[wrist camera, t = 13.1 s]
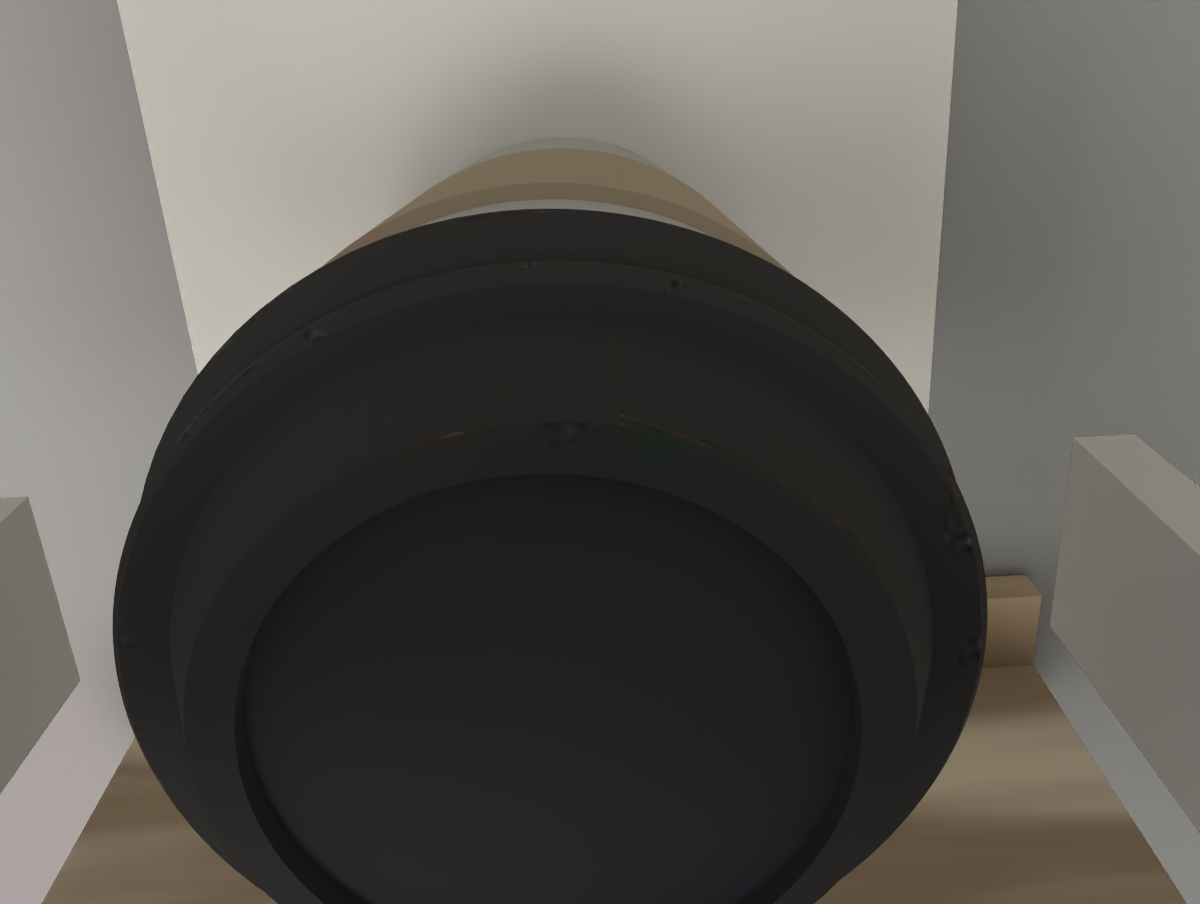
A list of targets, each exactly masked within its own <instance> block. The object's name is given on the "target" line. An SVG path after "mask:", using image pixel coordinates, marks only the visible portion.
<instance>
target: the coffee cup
mask: <svg viewBox="0 0 1200 904" xmlns="http://www.w3.org/2000/svg"><path fill="white" fill-rule="evenodd" d="M987 619H988V613H987V589H986V579H985V572H984V565H983V560H982V555H981V550H980V546H979V542H978V538H977V534H976V531H975V528H974V525H973V521H972V519H971V516H970V513H969V510H968V508H967V505H966V503H965V501H964V498H963V496H962V494H961V491H960V489H959V487H958V485H957V483H956V480H955V477H954V474H953V470H952V468H951V465H950V462H949V459H948V456H947V454H946V451H945V449H944V447H943V444H942V442H941V440H940V437H939V435H938V433H937V431H936V429H935V427H934V425H933V423H932V421H931V419H930V417H929V415H928V414H927V412H926V410H925V408H924V407H923V405H922V403H921V402H920V400H919V398H918V397H917V395H916V394H915V392H914V391H913V389H912V388H911V386H910V385H909V383H908V382H907V381H906V379H905V378H904V376H903V375H902V374H901V372H900V371H899V370H898V368H897V367H896V366H895V365H894V363H893V362H892V361H891V360H890V359H889V357H888V356H887V355H886V354H885V353H884V351H883V350H882V349H881V348H880V347H879V346H878V345H877V344H876V343H875V342H874V341H873V340H872V338H871V337H870V336H868V335H867V334H866V333H865V332H864V331H863V330H862V329H861V328H860V327H859V326H858V325H857V324H856V323H855V322H854V321H853V320H852V319H851V318H849V317H848V316H847V315H846V314H845V313H844V312H842V311H841V310H840V309H839V308H838V307H836V306H835V305H834V304H833V303H831V302H830V301H829V300H827V299H826V298H825V297H824V296H822V295H821V294H820V293H818V292H817V291H815V290H814V289H812V288H811V287H809V286H808V285H807V284H805V283H804V282H802V281H800V280H799V279H797V278H796V277H794V276H793V275H792V274H791V273H790V272H789V271H788V270H787V269H786V268H784V267H783V266H782V265H781V264H780V263H779V262H778V261H777V260H775V259H774V258H773V257H772V256H771V255H770V254H769V253H767V252H766V251H765V250H764V249H763V248H762V247H761V246H759V245H758V244H757V243H756V242H755V241H754V240H753V239H751V238H750V237H749V236H748V235H747V234H746V233H745V232H743V231H742V230H741V229H740V228H739V227H738V226H737V225H735V224H734V223H733V222H732V221H731V220H730V219H729V218H727V217H726V216H725V215H724V214H723V213H722V212H721V211H719V210H718V209H717V208H716V207H715V206H714V205H713V204H711V203H710V202H709V201H708V200H707V199H705V198H704V197H703V196H702V195H700V194H699V193H698V192H696V191H695V190H694V189H692V188H691V187H689V186H688V185H686V184H685V183H683V182H681V181H680V180H678V179H676V178H674V177H673V176H671V175H669V174H668V173H667V172H665V171H664V170H662V169H661V168H660V167H658V166H657V165H655V164H654V163H652V162H650V161H649V160H647V159H645V158H643V157H641V156H639V155H637V154H635V153H633V152H631V151H628V150H626V149H623V148H621V147H618V146H614V145H611V144H608V143H603V142H599V141H594V140H587V139H579V138H550V139H541V140H534V141H529V142H524V143H521V144H517V145H514V146H510V147H508V148H505V149H502V150H499V151H497V152H495V153H493V154H491V155H489V156H486V157H485V158H483V159H481V160H479V161H478V162H476V163H474V164H473V165H471V166H470V167H468V168H466V169H463V170H461V171H459V172H457V173H455V174H453V175H451V176H449V177H448V178H446V179H444V180H443V181H441V182H439V183H438V184H436V185H434V186H433V187H431V188H430V189H428V190H427V191H426V192H424V193H423V194H421V195H420V196H418V197H417V198H416V199H414V200H413V201H411V202H410V203H408V204H407V205H406V206H404V207H403V208H401V209H400V210H398V211H397V212H396V213H394V214H393V215H391V216H390V217H388V218H387V219H386V220H384V221H383V222H381V223H380V224H378V225H377V226H376V227H374V228H373V229H371V230H370V231H369V232H367V233H366V234H364V235H363V236H361V237H360V238H359V239H357V240H356V241H354V242H353V243H351V244H350V245H349V246H347V247H346V248H345V249H343V250H342V251H341V252H339V253H338V254H337V255H336V256H334V257H333V258H332V259H330V260H329V261H328V262H327V263H326V264H324V265H323V266H322V267H321V268H319V269H317V270H315V271H314V272H312V273H311V274H309V275H308V276H306V277H304V278H303V279H301V280H300V281H298V282H296V283H295V284H293V285H292V286H290V287H289V288H287V289H286V290H285V291H283V292H282V293H281V294H279V295H278V296H277V297H275V298H274V299H273V300H271V301H270V302H269V303H267V304H266V305H265V306H264V307H262V308H261V309H260V310H259V311H258V312H256V313H255V314H254V315H253V316H252V317H251V318H250V319H249V320H248V321H247V322H245V323H244V324H243V325H242V326H241V327H240V328H239V329H238V330H237V331H235V333H234V334H233V335H232V336H231V337H230V338H229V339H228V340H227V341H226V342H225V343H224V344H223V346H222V347H221V348H220V349H219V350H218V351H217V352H216V353H215V354H214V355H213V356H212V358H211V359H210V360H209V362H208V363H207V364H206V365H205V367H204V368H203V369H202V371H201V372H200V373H199V374H198V376H197V377H196V379H195V380H194V382H193V383H192V384H191V386H190V387H189V389H188V390H187V392H186V393H185V395H184V396H183V398H182V400H181V402H180V403H179V405H178V407H177V409H176V410H175V412H174V414H173V416H172V417H171V419H170V421H169V423H168V425H167V427H166V429H165V432H164V434H163V436H162V438H161V440H160V443H159V445H158V447H157V449H156V452H155V455H154V458H153V461H152V464H151V466H150V469H149V472H148V475H147V478H146V482H145V486H144V490H143V494H142V498H141V502H140V504H139V507H138V509H137V511H136V514H135V516H134V519H133V521H132V524H131V527H130V529H129V532H128V535H127V538H126V541H125V545H124V548H123V552H122V556H121V560H120V565H119V569H118V574H117V580H116V587H115V595H114V607H113V645H114V657H115V664H116V671H117V677H118V682H119V687H120V691H121V695H122V699H123V703H124V706H125V710H126V713H127V716H128V719H129V722H130V724H131V727H132V730H133V732H134V735H135V737H136V739H137V742H138V744H139V746H140V748H141V751H142V753H143V755H144V757H145V759H146V761H147V762H148V764H149V766H150V768H151V770H152V771H153V773H154V775H155V777H156V778H157V780H158V781H159V783H160V785H161V786H162V788H163V789H164V791H165V792H166V794H167V795H168V797H169V798H170V800H171V801H172V802H173V804H174V805H175V807H176V808H177V810H178V811H179V812H180V813H181V815H182V816H183V817H184V818H185V819H186V821H187V822H188V823H189V824H190V826H191V827H192V828H193V829H194V831H195V832H196V833H197V834H198V835H199V836H200V837H201V838H202V839H203V840H204V841H205V842H206V843H207V844H208V845H209V846H210V847H211V848H212V850H213V851H215V852H216V853H217V854H218V855H219V856H220V857H221V858H222V859H223V860H224V861H226V862H227V863H228V864H229V865H230V866H231V867H232V868H233V869H235V870H236V871H237V872H238V873H240V874H241V875H242V876H243V877H245V878H246V879H247V880H249V881H250V882H251V883H252V884H254V885H255V886H256V887H258V888H259V889H261V890H262V891H264V892H265V893H266V894H267V895H268V896H269V897H271V898H272V899H273V900H274V901H275V902H276V903H278V904H814V903H815V902H817V901H818V900H819V899H820V898H821V897H823V896H824V895H825V894H826V893H827V892H828V891H829V890H830V889H831V888H832V887H833V886H834V885H835V884H836V883H838V882H839V881H840V880H841V879H842V878H843V877H845V876H846V875H847V874H849V873H850V872H851V871H852V870H854V869H855V868H856V867H857V866H858V865H860V864H861V863H862V862H863V861H864V860H866V859H867V858H868V857H869V856H870V855H871V854H872V853H873V852H874V851H875V850H877V849H878V848H879V847H880V846H881V845H882V844H883V843H884V842H885V841H886V840H887V839H888V838H889V837H890V836H891V835H892V834H893V833H894V832H895V830H896V829H897V828H898V827H899V826H900V825H901V824H902V823H903V822H904V820H905V819H906V818H907V817H908V816H909V815H910V814H911V812H912V811H913V810H914V809H915V807H916V806H917V805H918V803H919V802H920V801H921V800H922V798H923V797H924V796H925V794H926V793H927V792H928V790H929V789H930V787H931V786H932V784H933V783H934V781H935V780H936V778H937V777H938V775H939V774H940V772H941V771H942V769H943V767H944V766H945V764H946V762H947V760H948V759H949V757H950V755H951V753H952V751H953V749H954V747H955V745H956V743H957V741H958V739H959V737H960V735H961V733H962V730H963V728H964V726H965V723H966V721H967V718H968V716H969V713H970V710H971V707H972V704H973V701H974V698H975V695H976V691H977V688H978V684H979V680H980V676H981V671H982V666H983V661H984V654H985V647H986V637H987Z"/></svg>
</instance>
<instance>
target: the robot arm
mask: <svg viewBox="0 0 1200 904" xmlns="http://www.w3.org/2000/svg"><path fill="white" fill-rule="evenodd" d="M1050 627H1051V628H1052V629H1053V631H1054V632H1055V634H1056V635H1057V636H1058V638H1059V639H1060V641H1061V642H1062V643H1063V645H1064V646H1065V647H1066V649H1067V650H1068V652H1069V653H1070V654H1071V656H1072V657H1073V658H1074V660H1075V661H1076V663H1077V664H1078V665H1079V667H1080V668H1081V670H1082V671H1083V672H1084V674H1085V675H1086V676H1087V678H1088V679H1089V681H1090V682H1091V683H1092V685H1093V686H1094V687H1095V689H1096V690H1097V692H1098V693H1099V694H1100V696H1101V697H1102V698H1103V700H1104V701H1105V703H1106V704H1107V705H1108V707H1109V708H1110V710H1111V711H1112V712H1113V714H1114V715H1115V716H1116V718H1117V719H1118V721H1119V722H1120V723H1121V725H1122V726H1123V727H1124V729H1125V730H1126V732H1127V733H1128V734H1129V736H1130V737H1131V739H1132V740H1133V741H1134V743H1135V744H1136V745H1137V747H1138V748H1139V750H1140V751H1141V752H1142V754H1143V755H1144V756H1145V758H1146V759H1147V761H1148V762H1149V763H1150V765H1151V766H1152V767H1153V769H1154V770H1155V772H1156V773H1157V774H1158V776H1159V777H1160V779H1161V780H1162V781H1163V783H1164V784H1165V785H1166V787H1167V788H1168V790H1169V791H1170V792H1171V794H1172V795H1173V796H1174V798H1175V799H1176V801H1177V802H1178V803H1179V805H1180V806H1181V808H1182V809H1183V810H1184V812H1185V813H1186V814H1187V816H1188V817H1189V819H1190V820H1191V821H1192V823H1193V824H1194V825H1195V827H1196V828H1197V830H1198V831H1199V832H1200V488H1199V487H1198V486H1197V485H1196V484H1195V483H1193V482H1192V481H1191V480H1190V479H1189V478H1187V477H1186V476H1185V475H1184V474H1183V473H1181V472H1180V471H1179V470H1178V469H1176V468H1175V467H1174V466H1173V465H1172V464H1170V463H1169V462H1168V461H1167V460H1166V459H1164V458H1163V457H1162V456H1161V455H1160V454H1158V453H1157V452H1156V451H1155V450H1153V449H1152V448H1151V447H1150V446H1149V445H1147V444H1146V443H1145V442H1144V441H1143V440H1141V439H1140V438H1139V437H1138V436H1137V435H1135V434H1129V435H1111V436H1094V437H1076V438H1074V439H1073V447H1072V455H1071V463H1070V471H1069V479H1068V487H1067V495H1066V503H1065V511H1064V519H1063V526H1062V534H1061V542H1060V550H1059V558H1058V566H1057V574H1056V582H1055V590H1054V598H1053V606H1052V614H1051V622H1050ZM79 681H80V677H79V673H78V670H77V666H76V663H75V659H74V656H73V652H72V649H71V645H70V642H69V638H68V635H67V631H66V628H65V624H64V621H63V617H62V614H61V610H60V607H59V603H58V600H57V596H56V593H55V589H54V586H53V582H52V579H51V575H50V572H49V568H48V565H47V561H46V558H45V554H44V551H43V547H42V544H41V540H40V537H39V533H38V530H37V526H36V523H35V519H34V516H33V512H32V509H31V505H30V502H29V498H28V497H12V498H0V794H1V792H2V791H3V789H4V788H5V786H6V785H7V784H8V782H9V781H10V779H11V778H12V777H13V775H14V774H15V772H16V771H17V769H18V768H19V767H20V765H21V764H22V762H23V761H24V760H25V758H26V757H27V755H28V754H29V752H30V751H31V750H32V748H33V747H34V745H35V744H36V742H37V741H38V740H39V738H40V737H41V735H42V734H43V733H44V731H45V730H46V728H47V727H48V725H49V724H50V723H51V721H52V720H53V718H54V717H55V715H56V714H57V713H58V711H59V710H60V708H61V707H62V706H63V704H64V703H65V701H66V700H67V698H68V697H69V696H70V694H71V693H72V691H73V690H74V688H75V687H76V686H77V684H78V683H79Z"/></svg>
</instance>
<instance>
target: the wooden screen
mask: <svg viewBox="0 0 1200 904" xmlns="http://www.w3.org/2000/svg"><path fill="white" fill-rule="evenodd" d="M985 579H986V589H987V613H988V619H987V637H986V647H985V654H984V661H983V666H982V671H981V676H980V680H979V684H978V688H977V691H976V695H975V698H974V701H973V704H972V707H971V710H970V713H969V716H968V718H967V721H966V723H965V726H964V728H963V730H962V733H961V735H960V737H959V739H958V741H957V743H956V745H955V747H954V749H953V751H952V753H951V755H950V757H949V759H948V760H947V762H946V764H945V766H944V767H943V769H942V771H941V772H940V774H939V775H938V777H937V778H936V780H935V781H934V783H933V784H932V786H931V787H930V789H929V790H928V792H927V793H926V794H925V796H924V797H923V798H922V800H921V801H920V802H919V803H918V805H917V806H916V807H915V809H914V810H913V811H912V812H911V814H910V815H909V816H908V817H907V818H906V819H905V820H904V822H903V823H902V824H901V825H900V826H899V827H898V828H897V829H896V830H895V832H894V833H893V834H892V835H891V836H890V837H889V838H888V839H887V840H886V841H885V842H884V843H883V844H882V845H881V846H880V847H879V848H878V849H877V850H875V851H874V852H873V853H872V854H871V855H870V856H869V857H868V858H867V859H866V860H864V861H863V862H862V863H861V864H860V865H858V866H857V867H856V868H855V869H854V870H852V871H851V872H850V873H849V874H847V875H846V876H845V877H843V878H842V879H841V880H840V881H839V882H838V883H836V884H835V885H834V886H833V887H832V888H831V889H830V890H829V891H828V892H827V893H826V894H825V895H824V896H823V897H821V898H820V899H819V900H818V901H817V902H815V903H814V904H1186V902H1185V900H1184V899H1183V897H1182V896H1181V894H1180V893H1179V891H1178V890H1177V888H1176V886H1175V885H1174V883H1173V882H1172V880H1171V879H1170V877H1169V876H1168V874H1167V872H1166V871H1165V869H1164V868H1163V866H1162V865H1161V863H1160V862H1159V860H1158V858H1157V857H1156V855H1155V854H1154V852H1153V851H1152V849H1151V848H1150V846H1149V844H1148V843H1147V841H1146V840H1145V838H1144V837H1143V835H1142V834H1141V832H1140V830H1139V829H1138V827H1137V826H1136V824H1135V823H1134V821H1133V820H1132V818H1131V817H1130V815H1129V813H1128V812H1127V810H1126V809H1125V807H1124V806H1123V804H1122V803H1121V801H1120V799H1119V798H1118V796H1117V795H1116V793H1115V792H1114V790H1113V789H1112V787H1111V785H1110V784H1109V782H1108V781H1107V779H1106V778H1105V776H1104V775H1103V773H1102V771H1101V770H1100V768H1099V767H1098V765H1097V764H1096V762H1095V761H1094V759H1093V757H1092V756H1091V754H1090V753H1089V751H1088V750H1087V748H1086V747H1085V745H1084V744H1083V742H1082V740H1081V739H1080V737H1079V736H1078V734H1077V733H1076V731H1075V730H1074V728H1073V726H1072V725H1071V723H1070V722H1069V720H1068V719H1067V717H1066V716H1065V714H1064V712H1063V711H1062V709H1061V708H1060V706H1059V705H1058V703H1057V702H1056V700H1055V698H1054V697H1053V695H1052V694H1051V692H1050V691H1049V689H1048V688H1047V686H1046V684H1045V683H1044V681H1043V680H1042V678H1041V677H1040V675H1039V674H1038V672H1037V670H1036V669H1035V667H1034V666H1033V662H1034V654H1035V647H1036V639H1037V631H1038V623H1039V615H1040V607H1041V599H1042V595H1041V594H1040V593H1039V591H1038V590H1037V589H1036V587H1035V586H1034V584H1033V583H1032V582H1031V580H1030V579H1029V578H1028V576H1027V575H1013V576H995V577H985ZM42 904H278V903H276V902H275V901H274V900H273V899H272V898H271V897H269V896H268V895H267V894H266V893H265V892H264V891H262V890H261V889H259V888H258V887H256V886H255V885H254V884H252V883H251V882H250V881H249V880H247V879H246V878H245V877H243V876H242V875H241V874H240V873H238V872H237V871H236V870H235V869H233V868H232V867H231V866H230V865H229V864H228V863H227V862H226V861H224V860H223V859H222V858H221V857H220V856H219V855H218V854H217V853H216V852H215V851H213V850H212V848H211V847H210V846H209V845H208V844H207V843H206V842H205V841H204V840H203V839H202V838H201V837H200V836H199V835H198V834H197V833H196V832H195V831H194V829H193V828H192V827H191V826H190V824H189V823H188V822H187V821H186V819H185V818H184V817H183V816H182V815H181V813H180V812H179V811H178V810H177V808H176V807H175V805H174V804H173V802H172V801H171V800H170V798H169V797H168V795H167V794H166V792H165V791H164V789H163V788H162V786H161V785H160V783H159V781H158V780H157V778H156V777H155V775H154V773H153V771H152V770H151V768H150V766H149V764H148V762H147V761H146V759H145V757H144V755H143V753H142V751H141V748H140V746H139V744H138V742H137V739H136V737H135V738H134V740H133V742H132V744H131V745H130V747H129V749H128V751H127V752H126V754H125V756H124V758H123V760H122V761H121V763H120V765H119V767H118V768H117V770H116V772H115V774H114V776H113V777H112V779H111V781H110V783H109V785H108V786H107V788H106V790H105V792H104V793H103V795H102V797H101V799H100V801H99V802H98V804H97V806H96V808H95V810H94V811H93V813H92V815H91V817H90V818H89V820H88V822H87V824H86V826H85V827H84V829H83V831H82V833H81V834H80V836H79V838H78V840H77V842H76V843H75V845H74V847H73V849H72V851H71V852H70V854H69V856H68V858H67V859H66V861H65V863H64V865H63V867H62V868H61V870H60V872H59V874H58V875H57V877H56V879H55V881H54V883H53V884H52V886H51V888H50V890H49V892H48V893H47V895H46V897H45V899H44V900H43V902H42Z"/></svg>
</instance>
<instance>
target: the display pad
mask: <svg viewBox="0 0 1200 904" xmlns="http://www.w3.org/2000/svg"><path fill="white" fill-rule="evenodd" d="M117 3H118V8H119V12H120V17H121V22H122V26H123V31H124V35H125V40H126V45H127V49H128V54H129V59H130V63H131V68H132V72H133V77H134V82H135V86H136V91H137V95H138V100H139V105H140V109H141V114H142V119H143V123H144V128H145V132H146V137H147V142H148V146H149V151H150V155H151V160H152V165H153V169H154V174H155V179H156V183H157V188H158V192H159V197H160V202H161V206H162V211H163V216H164V220H165V225H166V229H167V234H168V239H169V243H170V248H171V252H172V257H173V262H174V266H175V271H176V276H177V280H178V285H179V289H180V294H181V299H182V303H183V308H184V312H185V317H186V322H187V326H188V331H189V336H190V340H191V345H192V349H193V354H194V359H195V363H196V368H197V372H198V374H199V373H200V372H201V371H202V369H203V368H204V367H205V365H206V364H207V363H208V362H209V360H210V359H211V358H212V356H213V355H214V354H215V353H216V352H217V351H218V350H219V349H220V348H221V347H222V346H223V344H224V343H225V342H226V341H227V340H228V339H229V338H230V337H231V336H232V335H233V334H234V333H235V331H237V330H238V329H239V328H240V327H241V326H242V325H243V324H244V323H245V322H247V321H248V320H249V319H250V318H251V317H252V316H253V315H254V314H255V313H256V312H258V311H259V310H260V309H261V308H262V307H264V306H265V305H266V304H267V303H269V302H270V301H271V300H273V299H274V298H275V297H277V296H278V295H279V294H281V293H282V292H283V291H285V290H286V289H287V288H289V287H290V286H292V285H293V284H295V283H296V282H298V281H300V280H301V279H303V278H304V277H306V276H308V275H309V274H311V273H312V272H314V271H315V270H317V269H319V268H321V267H322V266H323V265H324V264H326V263H327V262H328V261H329V260H330V259H332V258H333V257H334V256H336V255H337V254H338V253H339V252H341V251H342V250H343V249H345V248H346V247H347V246H349V245H350V244H351V243H353V242H354V241H356V240H357V239H359V238H360V237H361V236H363V235H364V234H366V233H367V232H369V231H370V230H371V229H373V228H374V227H376V226H377V225H378V224H380V223H381V222H383V221H384V220H386V219H387V218H388V217H390V216H391V215H393V214H394V213H396V212H397V211H398V210H400V209H401V208H403V207H404V206H406V205H407V204H408V203H410V202H411V201H413V200H414V199H416V198H417V197H418V196H420V195H421V194H423V193H424V192H426V191H427V190H428V189H430V188H431V187H433V186H434V185H436V184H438V183H439V182H441V181H443V180H444V179H446V178H448V177H449V176H451V175H453V174H455V173H457V172H459V171H461V170H463V169H466V168H468V167H470V166H471V165H473V164H474V163H476V162H478V161H479V160H481V159H483V158H485V157H486V156H489V155H491V154H493V153H495V152H497V151H499V150H502V149H505V148H508V147H510V146H514V145H517V144H521V143H524V142H529V141H534V140H541V139H550V138H579V139H587V140H594V141H599V142H603V143H608V144H611V145H614V146H618V147H621V148H623V149H626V150H628V151H631V152H633V153H635V154H637V155H639V156H641V157H643V158H645V159H647V160H649V161H650V162H652V163H654V164H655V165H657V166H658V167H660V168H661V169H662V170H664V171H665V172H667V173H668V174H669V175H671V176H673V177H674V178H676V179H678V180H680V181H681V182H683V183H685V184H686V185H688V186H689V187H691V188H692V189H694V190H695V191H696V192H698V193H699V194H700V195H702V196H703V197H704V198H705V199H707V200H708V201H709V202H710V203H711V204H713V205H714V206H715V207H716V208H717V209H718V210H719V211H721V212H722V213H723V214H724V215H725V216H726V217H727V218H729V219H730V220H731V221H732V222H733V223H734V224H735V225H737V226H738V227H739V228H740V229H741V230H742V231H743V232H745V233H746V234H747V235H748V236H749V237H750V238H751V239H753V240H754V241H755V242H756V243H757V244H758V245H759V246H761V247H762V248H763V249H764V250H765V251H766V252H767V253H769V254H770V255H771V256H772V257H773V258H774V259H775V260H777V261H778V262H779V263H780V264H781V265H782V266H783V267H784V268H786V269H787V270H788V271H789V272H790V273H791V274H792V275H793V276H794V277H796V278H797V279H799V280H800V281H802V282H804V283H805V284H807V285H808V286H809V287H811V288H812V289H814V290H815V291H817V292H818V293H820V294H821V295H822V296H824V297H825V298H826V299H827V300H829V301H830V302H831V303H833V304H834V305H835V306H836V307H838V308H839V309H840V310H841V311H842V312H844V313H845V314H846V315H847V316H848V317H849V318H851V319H852V320H853V321H854V322H855V323H856V324H857V325H858V326H859V327H860V328H861V329H862V330H863V331H864V332H865V333H866V334H867V335H868V336H870V337H871V338H872V340H873V341H874V342H875V343H876V344H877V345H878V346H879V347H880V348H881V349H882V350H883V351H884V353H885V354H886V355H887V356H888V357H889V359H890V360H891V361H892V362H893V363H894V365H895V366H896V367H897V368H898V370H899V371H900V372H901V374H902V375H903V376H904V378H905V379H906V381H907V382H908V383H909V385H910V386H911V388H912V389H913V391H914V392H915V394H916V395H917V397H918V398H919V400H920V402H921V403H922V405H923V407H924V408H925V410H926V412H927V414H928V409H929V395H930V381H931V367H932V353H933V339H934V325H935V311H936V298H937V284H938V270H939V256H940V242H941V228H942V214H943V200H944V186H945V172H946V159H947V145H948V131H949V117H950V103H951V89H952V75H953V61H954V47H955V33H956V20H957V6H958V0H117Z"/></svg>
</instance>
